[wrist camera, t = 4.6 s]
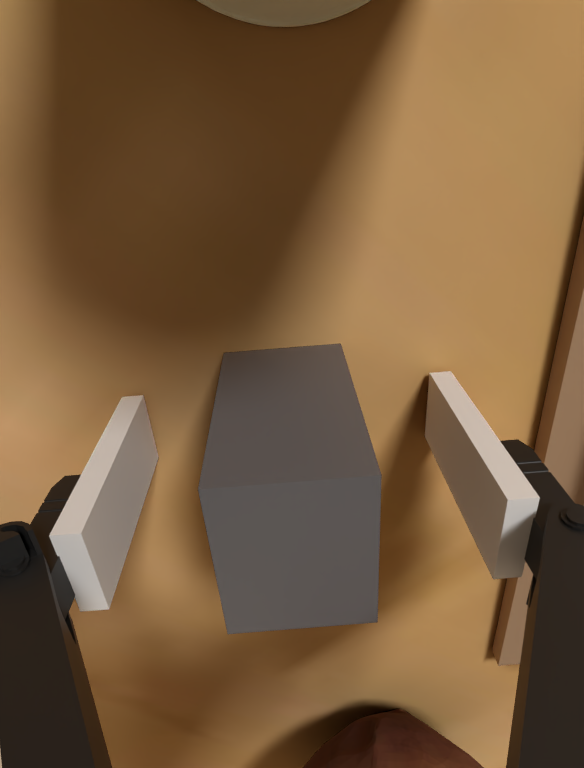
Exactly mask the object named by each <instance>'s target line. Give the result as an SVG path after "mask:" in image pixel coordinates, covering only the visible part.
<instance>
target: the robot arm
mask: <svg viewBox="0 0 584 768" xmlns="http://www.w3.org/2000/svg"><path fill="white" fill-rule="evenodd" d="M425 438H426V440H427V442H428V444H429V446H430V449H431V451H432V453H433V455H434V457H435V459H436V461H437V463H438V465H439V467H440V469H441V471H442V474H443V476H444V478H445V480H446V482H447V484H448V486H449V488H450V490H451V492H452V494H453V496H454V499H455V501H456V503H457V505H458V507H459V509H460V511H461V513H462V515H463V517H464V519H465V521H466V524H467V526H468V528H469V530H470V532H471V534H472V536H473V538H474V540H475V542H476V544H477V546H478V549H479V551H480V553H481V555H482V557H483V559H484V561H485V563H486V565H487V567H488V569H489V571H490V574H491V576H492V578H493V579H501V578H514V577H522V574H523V570H524V565H525V561H526V563H527V564H528V566H529V568H530V570H531V571H532V573H533V577H532V581H531V585H530V589H529V593H528V598H527V602H526V605H528V608H527V615H526V623H525V630H524V638H523V645H522V653H521V660H520V668H519V675H518V683H517V690H516V698H515V705H514V712H513V720H512V727H511V735H510V742H509V750H508V757H507V765H506V768H584V506H583V505H580V504H575V503H574V501H573V500H572V499H571V498H570V496H569V495H568V494H567V492H566V491H565V490H564V489H563V487H562V486H561V485H560V484H559V482H558V481H557V480H556V478H555V477H554V476H553V475H552V473H551V472H549V470H548V468H547V467H546V466H545V464H544V463H542V462H541V459H540V458H539V457H538V455H537V454H536V453H535V452H534V450H533V449H532V448H530V447H529V446H527V445H525V444H524V443H522V442H521V441H519V440H505V441H500V440H499V439H498V437H497V436H496V435H495V433H494V432H493V430H492V429H491V427H490V426H489V425H488V423H487V422H486V420H485V419H484V418H483V416H482V415H481V413H480V412H479V410H478V409H477V408H476V406H475V405H474V403H473V402H472V401H471V399H470V398H469V396H468V395H467V393H466V392H465V391H464V389H463V388H462V386H461V385H460V383H459V382H458V381H457V379H456V378H455V376H454V375H453V374H452V372H451V371H448V372H435V373H429V386H428V400H427V413H426V427H425ZM158 458H159V457H158V452H157V448H156V444H155V440H154V436H153V432H152V428H151V424H150V420H149V416H148V412H147V407H146V403H145V399H144V395H139V396H126V397H122V398H121V400H120V402H119V404H118V406H117V407H116V409H115V411H114V413H113V415H112V417H111V419H110V421H109V423H108V425H107V426H106V428H105V430H104V432H103V434H102V436H101V438H100V440H99V442H98V444H97V445H96V447H95V449H94V451H93V453H92V455H91V457H90V459H89V461H88V463H87V465H86V466H85V468H84V470H83V472H82V474H81V475H71V476H64V477H63V478H62V479H61V480H60V481H59V482H58V483H56V484H55V485H54V486H53V487H52V488H51V490H50V492H49V493H48V495H47V497H46V498H45V500H44V503H42V505H41V507H40V509H39V510H38V513H37V514H36V515H35V517H34V519H33V521H32V522H31V524H30V525H29V524H28V523H25V522H22V521H16V522H9V523H5V524H2V525H0V748H1V759H2V768H112V766H111V762H110V758H109V754H108V751H107V747H106V743H105V740H104V736H103V732H102V729H101V725H100V721H99V718H98V714H97V710H96V706H95V703H94V699H93V695H92V692H91V688H90V684H89V681H88V677H87V673H86V669H85V666H84V662H83V658H82V655H81V651H80V647H79V644H78V640H77V636H76V633H75V629H74V625H73V621H72V619H71V617H70V614H69V610H70V607H71V605H72V602H73V600H74V597H75V600H76V602H77V604H78V607H79V609H80V612H82V611H94V610H107V609H110V605H111V602H112V599H113V596H114V593H115V590H116V587H117V584H118V581H119V578H120V575H121V572H122V569H123V566H124V562H125V559H126V556H127V553H128V550H129V547H130V544H131V541H132V538H133V535H134V532H135V529H136V526H137V522H138V519H139V516H140V513H141V510H142V507H143V504H144V501H145V498H146V495H147V492H148V489H149V486H150V482H151V479H152V476H153V473H154V470H155V467H156V464H157V461H158Z"/></svg>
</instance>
